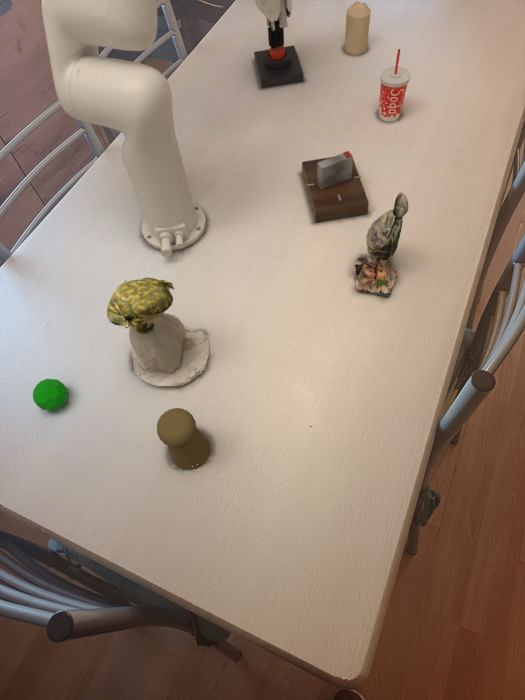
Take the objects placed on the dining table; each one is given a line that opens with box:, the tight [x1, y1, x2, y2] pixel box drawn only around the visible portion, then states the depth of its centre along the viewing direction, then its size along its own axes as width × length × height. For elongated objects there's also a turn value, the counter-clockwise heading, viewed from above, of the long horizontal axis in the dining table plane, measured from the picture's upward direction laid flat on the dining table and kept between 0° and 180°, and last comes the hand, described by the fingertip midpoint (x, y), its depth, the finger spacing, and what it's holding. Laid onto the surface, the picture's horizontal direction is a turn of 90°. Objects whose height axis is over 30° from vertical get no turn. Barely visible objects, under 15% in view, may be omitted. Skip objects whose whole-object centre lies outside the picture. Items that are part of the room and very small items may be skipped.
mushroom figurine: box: [106, 277, 210, 387], centre depth 75 cm, size 12×13×18 cm
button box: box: [253, 45, 304, 89], centre depth 119 cm, size 12×10×4 cm
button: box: [269, 45, 286, 60], centre depth 117 cm, size 4×4×2 cm
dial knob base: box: [301, 156, 370, 224], centre depth 97 cm, size 14×11×3 cm
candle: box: [344, 0, 372, 56], centre depth 119 cm, size 6×6×10 cm
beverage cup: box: [378, 48, 412, 122], centre depth 103 cm, size 6×6×14 cm
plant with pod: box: [352, 191, 409, 298], centre depth 79 cm, size 8×11×20 cm
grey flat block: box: [317, 150, 354, 189], centre depth 94 cm, size 6×2×5 cm, turn 114°
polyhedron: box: [32, 378, 68, 411], centre depth 78 cm, size 5×5×5 cm
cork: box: [156, 407, 212, 471], centre depth 69 cm, size 6×6×11 cm
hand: (276, 45), depth 115 cm, fingers closed
